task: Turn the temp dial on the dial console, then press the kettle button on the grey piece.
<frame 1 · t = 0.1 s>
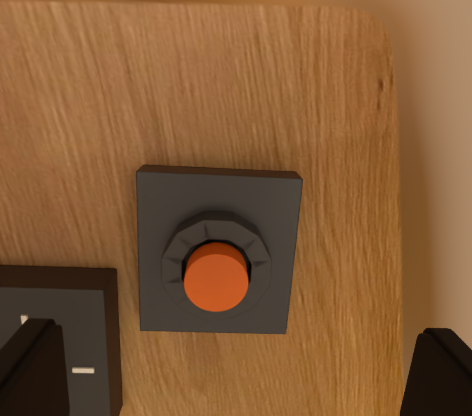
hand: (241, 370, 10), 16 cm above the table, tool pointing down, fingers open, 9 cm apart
dial console: (51, 339, 27), on the table
kettle button: (216, 276, 21), point 5 cm above the table, slide at 0.2 cm
grey piece: (217, 245, 26), on the table
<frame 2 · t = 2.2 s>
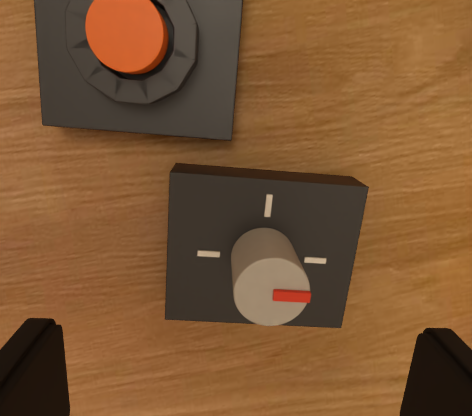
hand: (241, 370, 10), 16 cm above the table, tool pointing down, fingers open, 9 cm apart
dial console: (257, 238, 26), on the table
kettle button: (129, 34, 18), point 5 cm above the table, slide at 0.2 cm
grey piece: (146, 45, 22), on the table
temp dial: (267, 274, 21), point 5 cm above the table, hinge at 0.0°
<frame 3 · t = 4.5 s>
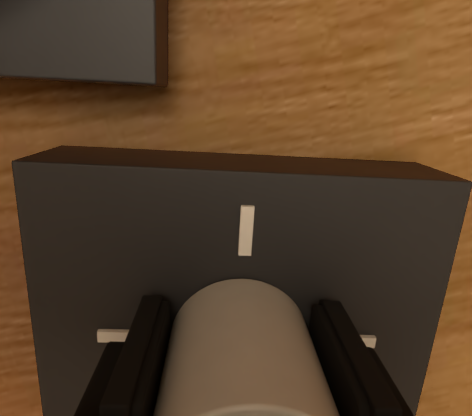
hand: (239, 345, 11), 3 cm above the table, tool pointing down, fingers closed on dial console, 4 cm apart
dial console: (235, 286, 14), on the table
temp dial: (243, 402, 9), point 5 cm above the table, hinge at -0.1°, touching gripper
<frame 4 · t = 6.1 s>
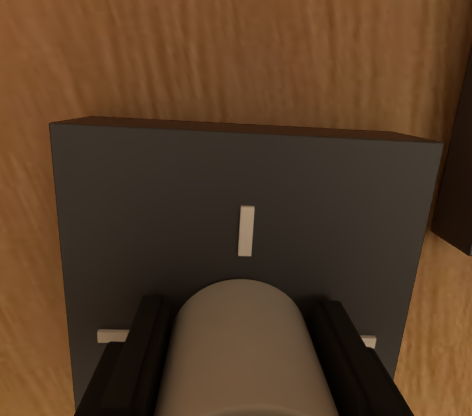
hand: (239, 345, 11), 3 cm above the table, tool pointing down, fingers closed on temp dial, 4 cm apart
dial console: (235, 287, 14), on the table
temp dial: (243, 403, 9), point 5 cm above the table, hinge at 89.7°, touching gripper
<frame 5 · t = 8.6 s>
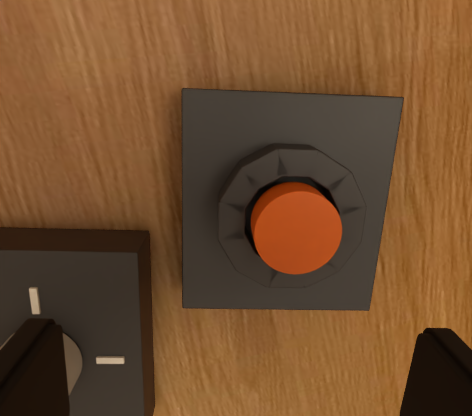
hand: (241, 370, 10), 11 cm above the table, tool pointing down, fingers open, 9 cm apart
dial console: (67, 323, 22), on the table
kettle button: (294, 227, 16), point 5 cm above the table, slide at 0.2 cm
grey piece: (278, 198, 20), on the table
temp dial: (18, 395, 17), point 5 cm above the table, hinge at 89.6°
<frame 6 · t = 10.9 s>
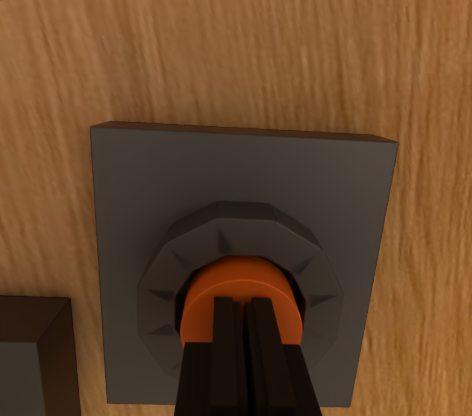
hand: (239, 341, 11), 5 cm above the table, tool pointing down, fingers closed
kettle button: (240, 317, 12), point 4 cm above the table, slide at -0.3 cm, touching gripper
grey piece: (236, 260, 15), on the table
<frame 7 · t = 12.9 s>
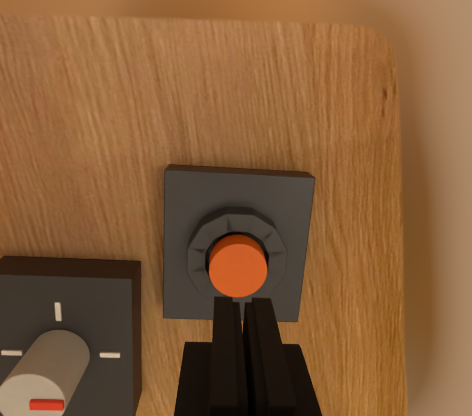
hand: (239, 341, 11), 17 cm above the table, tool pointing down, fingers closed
dial console: (77, 328, 29), on the table
kettle button: (237, 265, 23), point 5 cm above the table, slide at 0.1 cm
grey piece: (234, 240, 28), on the table
temp dial: (46, 377, 24), point 5 cm above the table, hinge at 89.6°
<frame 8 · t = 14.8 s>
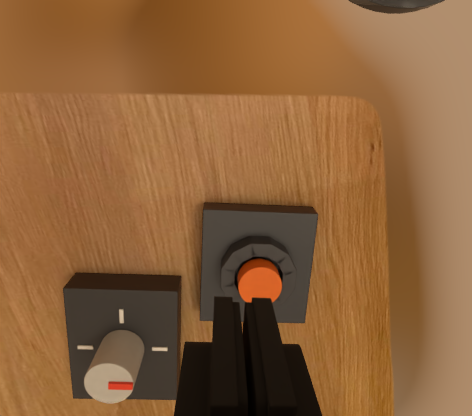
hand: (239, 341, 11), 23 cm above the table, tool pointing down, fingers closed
dial console: (130, 327, 37), on the table
kettle button: (259, 282, 31), point 5 cm above the table, slide at 0.1 cm
grey piece: (254, 259, 35), on the table
temp dial: (115, 365, 32), point 5 cm above the table, hinge at 89.6°
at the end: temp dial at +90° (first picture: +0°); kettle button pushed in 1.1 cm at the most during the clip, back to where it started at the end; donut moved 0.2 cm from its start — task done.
